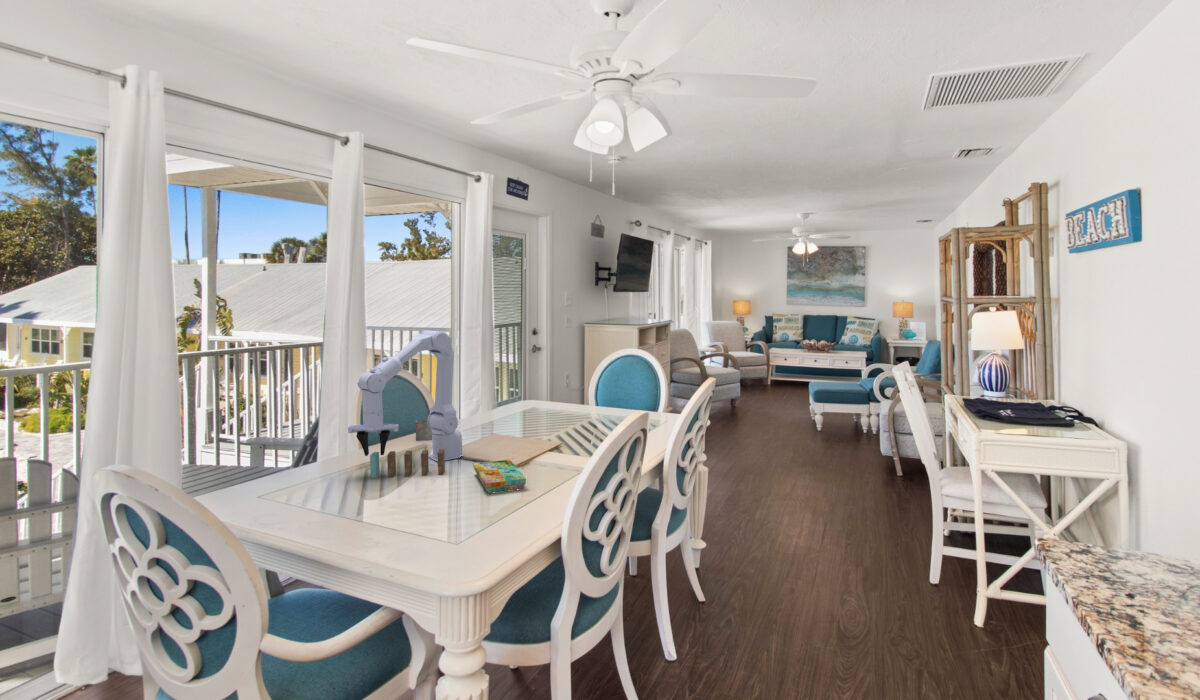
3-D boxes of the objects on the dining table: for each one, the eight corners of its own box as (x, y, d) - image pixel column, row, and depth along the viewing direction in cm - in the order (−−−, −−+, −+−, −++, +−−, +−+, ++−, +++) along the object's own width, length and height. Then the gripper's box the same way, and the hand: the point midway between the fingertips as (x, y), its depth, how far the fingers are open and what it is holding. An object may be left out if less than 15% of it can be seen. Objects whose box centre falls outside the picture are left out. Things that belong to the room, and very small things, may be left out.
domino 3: (412, 471, 185) (411, 450, 185) (410, 476, 181) (409, 454, 180) (407, 472, 185) (406, 450, 184) (404, 476, 181) (404, 454, 180)
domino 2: (396, 472, 185) (395, 451, 184) (393, 477, 180) (392, 455, 180) (390, 472, 184) (390, 451, 184) (387, 477, 180) (387, 455, 179)
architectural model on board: (447, 438, 228) (446, 414, 227) (446, 440, 225) (446, 416, 224) (417, 440, 226) (416, 415, 225) (416, 442, 223) (415, 417, 222)
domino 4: (428, 471, 186) (428, 449, 185) (426, 475, 182) (426, 453, 181) (423, 471, 186) (422, 450, 185) (421, 475, 182) (420, 453, 181)
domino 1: (379, 473, 184) (378, 451, 183) (376, 477, 179) (375, 455, 179) (374, 473, 184) (373, 451, 183) (370, 478, 179) (369, 455, 179)
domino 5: (444, 470, 187) (444, 449, 186) (443, 474, 183) (442, 453, 182) (439, 470, 187) (439, 449, 186) (438, 475, 182) (437, 453, 182)
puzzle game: (485, 480, 164) (473, 460, 183) (485, 496, 165) (473, 475, 183) (525, 475, 168) (509, 456, 187) (526, 491, 169) (510, 471, 187)
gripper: (344, 415, 174) (346, 459, 176) (394, 413, 177) (396, 457, 178) (350, 410, 181) (352, 452, 183) (399, 408, 183) (400, 450, 185)
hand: (374, 454), depth 181 cm, fingers open, 4 cm apart
